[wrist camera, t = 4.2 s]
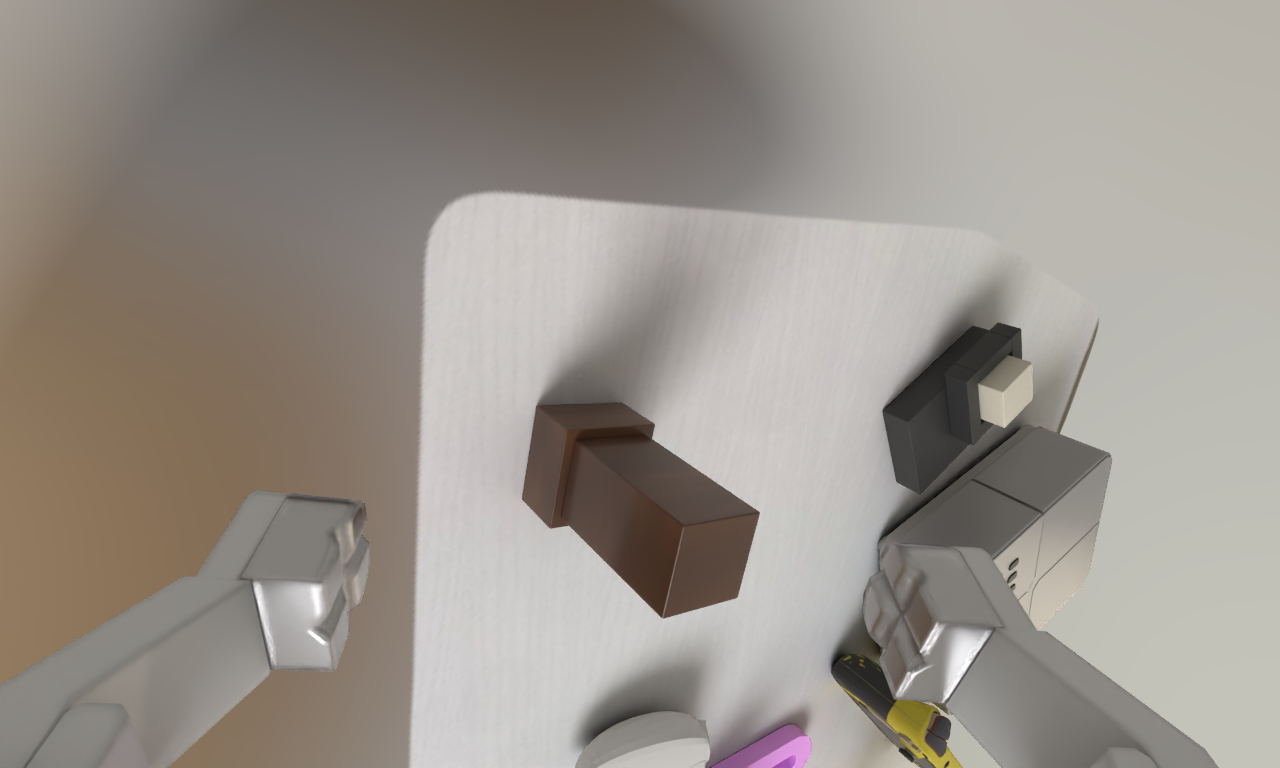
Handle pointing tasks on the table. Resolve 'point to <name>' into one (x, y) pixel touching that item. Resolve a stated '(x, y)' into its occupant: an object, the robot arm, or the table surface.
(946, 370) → the black stepped base
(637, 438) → the brown stepped pedestal
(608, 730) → the game controller
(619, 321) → the table surface
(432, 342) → the table surface
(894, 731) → the gaming console
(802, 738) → the bracket
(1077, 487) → the projector
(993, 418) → the cream rectangular block
